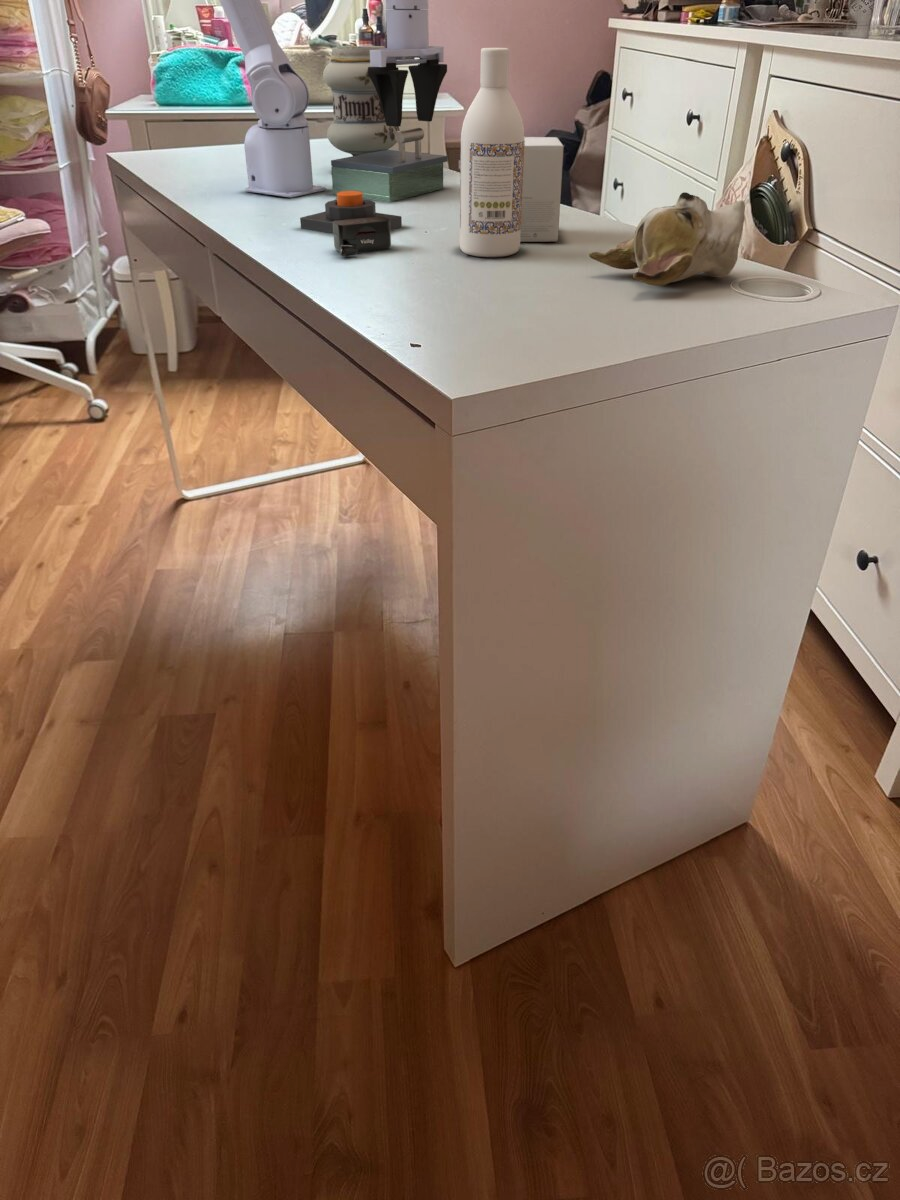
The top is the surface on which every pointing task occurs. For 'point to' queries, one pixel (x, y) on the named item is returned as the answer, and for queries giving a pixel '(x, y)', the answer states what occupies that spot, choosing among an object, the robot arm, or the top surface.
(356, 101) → the apothecary jar
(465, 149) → the bath foam
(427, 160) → the lid
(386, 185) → the green hinged box
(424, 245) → the top surface
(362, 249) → the dark grey gadget
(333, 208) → the control block
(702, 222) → the ceramic sculpture
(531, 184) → the small box
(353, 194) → the button
